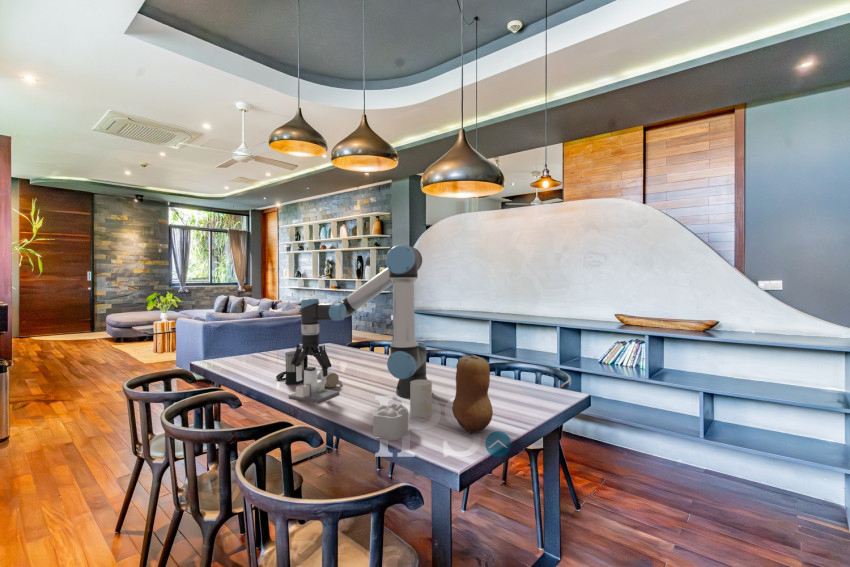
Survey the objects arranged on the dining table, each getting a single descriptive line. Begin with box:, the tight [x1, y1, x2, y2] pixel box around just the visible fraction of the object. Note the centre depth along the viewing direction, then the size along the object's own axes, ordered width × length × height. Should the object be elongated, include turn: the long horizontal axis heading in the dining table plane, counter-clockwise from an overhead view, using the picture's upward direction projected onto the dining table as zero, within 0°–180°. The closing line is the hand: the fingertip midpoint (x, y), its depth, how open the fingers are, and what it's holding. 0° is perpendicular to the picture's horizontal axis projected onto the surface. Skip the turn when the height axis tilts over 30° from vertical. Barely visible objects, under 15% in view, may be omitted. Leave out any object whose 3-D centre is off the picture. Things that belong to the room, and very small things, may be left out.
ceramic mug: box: [317, 368, 343, 389], centre depth 197 cm, size 11×8×8 cm
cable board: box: [288, 380, 340, 404], centre depth 181 cm, size 16×14×5 cm
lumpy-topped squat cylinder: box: [372, 403, 409, 441], centre depth 139 cm, size 10×13×9 cm
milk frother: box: [275, 350, 309, 385], centre depth 206 cm, size 14×16×15 cm
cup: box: [409, 379, 433, 418], centre depth 157 cm, size 8×8×12 cm
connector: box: [303, 366, 318, 394], centre depth 181 cm, size 4×4×11 cm
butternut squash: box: [452, 355, 494, 434], centre depth 140 cm, size 14×13×25 cm
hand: (311, 382), depth 181 cm, fingers open, 13 cm apart
